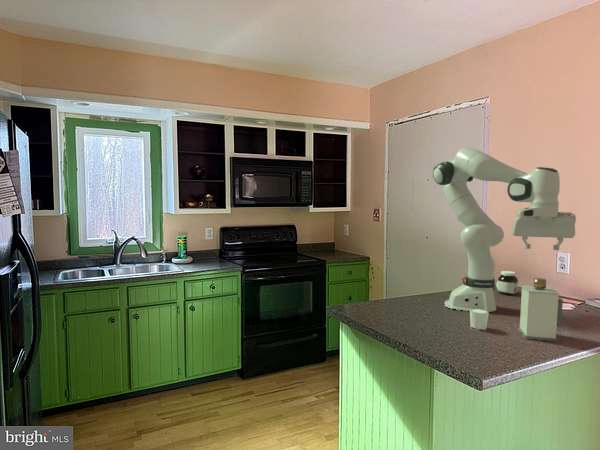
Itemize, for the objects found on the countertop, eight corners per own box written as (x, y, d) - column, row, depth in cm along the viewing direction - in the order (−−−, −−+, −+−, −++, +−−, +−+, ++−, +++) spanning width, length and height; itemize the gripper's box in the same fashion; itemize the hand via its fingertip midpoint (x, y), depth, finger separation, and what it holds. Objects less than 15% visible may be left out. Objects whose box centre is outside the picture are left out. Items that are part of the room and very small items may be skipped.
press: (525, 339, 152) (527, 291, 150) (518, 329, 162) (520, 285, 160) (564, 342, 148) (567, 293, 147) (554, 332, 158) (557, 287, 157)
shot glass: (465, 326, 165) (465, 309, 165) (478, 324, 168) (479, 307, 167) (478, 332, 159) (478, 314, 158) (491, 330, 161) (492, 312, 161)
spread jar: (507, 296, 213) (509, 274, 212) (488, 291, 223) (489, 270, 222) (522, 293, 219) (523, 272, 218) (502, 289, 229) (503, 268, 228)
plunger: (529, 334, 153) (532, 280, 151) (524, 327, 160) (526, 276, 158) (551, 335, 151) (554, 281, 149) (544, 329, 158) (547, 277, 156)
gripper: (572, 212, 152) (570, 249, 153) (511, 210, 157) (509, 246, 158) (579, 212, 146) (577, 251, 147) (515, 211, 151) (513, 249, 152)
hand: (541, 249), depth 153 cm, fingers open, 8 cm apart
